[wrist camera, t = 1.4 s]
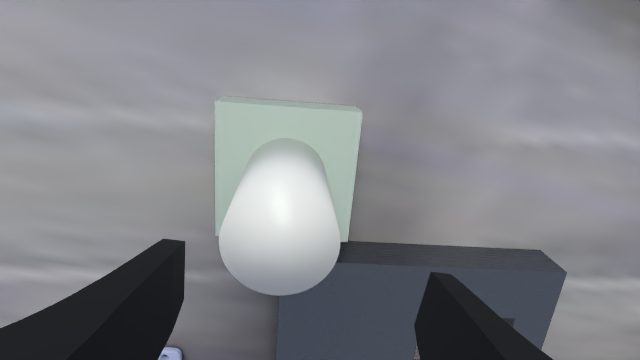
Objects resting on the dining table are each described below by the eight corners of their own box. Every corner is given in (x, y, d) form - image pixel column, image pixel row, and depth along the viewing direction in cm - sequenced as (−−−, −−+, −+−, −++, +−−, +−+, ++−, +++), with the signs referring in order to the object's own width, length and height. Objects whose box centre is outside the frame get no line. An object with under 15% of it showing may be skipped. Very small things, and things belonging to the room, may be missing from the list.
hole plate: (273, 393, 26) (271, 429, 24) (282, 238, 23) (280, 261, 20) (495, 396, 28) (515, 430, 25) (540, 250, 24) (568, 273, 21)
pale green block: (222, 219, 22) (215, 235, 20) (222, 96, 20) (214, 101, 18) (343, 225, 23) (347, 241, 21) (356, 106, 20) (362, 112, 18)
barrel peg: (244, 211, 20) (218, 293, 13) (246, 134, 18) (218, 184, 12) (322, 215, 20) (334, 297, 14) (328, 140, 19) (346, 191, 12)
